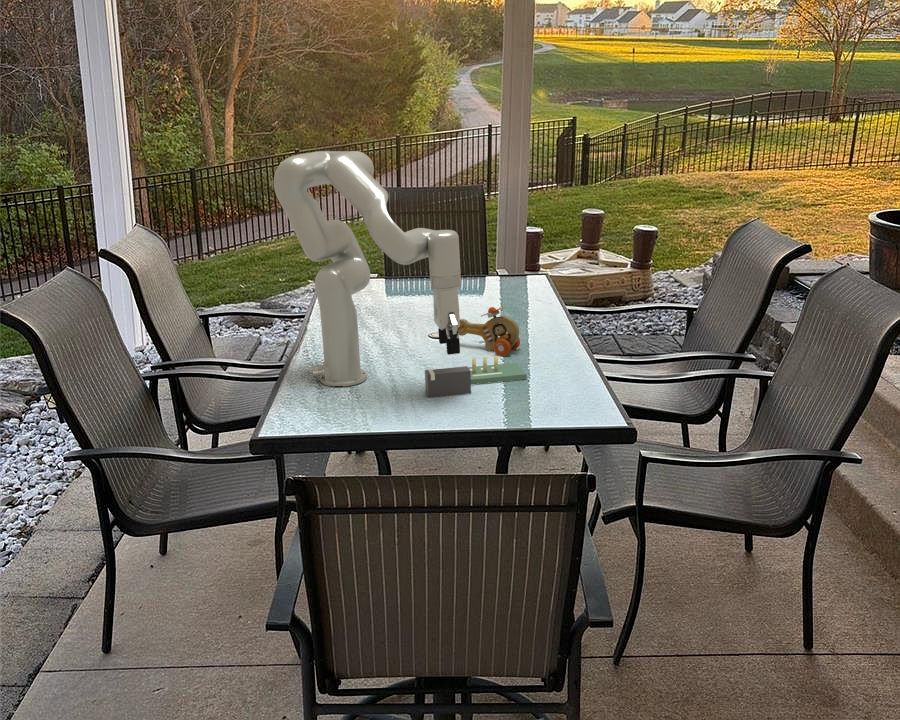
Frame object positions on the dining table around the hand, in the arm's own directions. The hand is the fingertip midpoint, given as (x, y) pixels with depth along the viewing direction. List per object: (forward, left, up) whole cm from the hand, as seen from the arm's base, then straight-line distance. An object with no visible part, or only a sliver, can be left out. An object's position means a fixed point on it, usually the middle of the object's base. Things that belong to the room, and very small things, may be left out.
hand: (449, 348), depth 219 cm
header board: (+11, +9, -12) cm, 19 cm away
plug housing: (-1, 0, -12) cm, 12 cm away
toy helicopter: (+18, +32, -12) cm, 39 cm away
